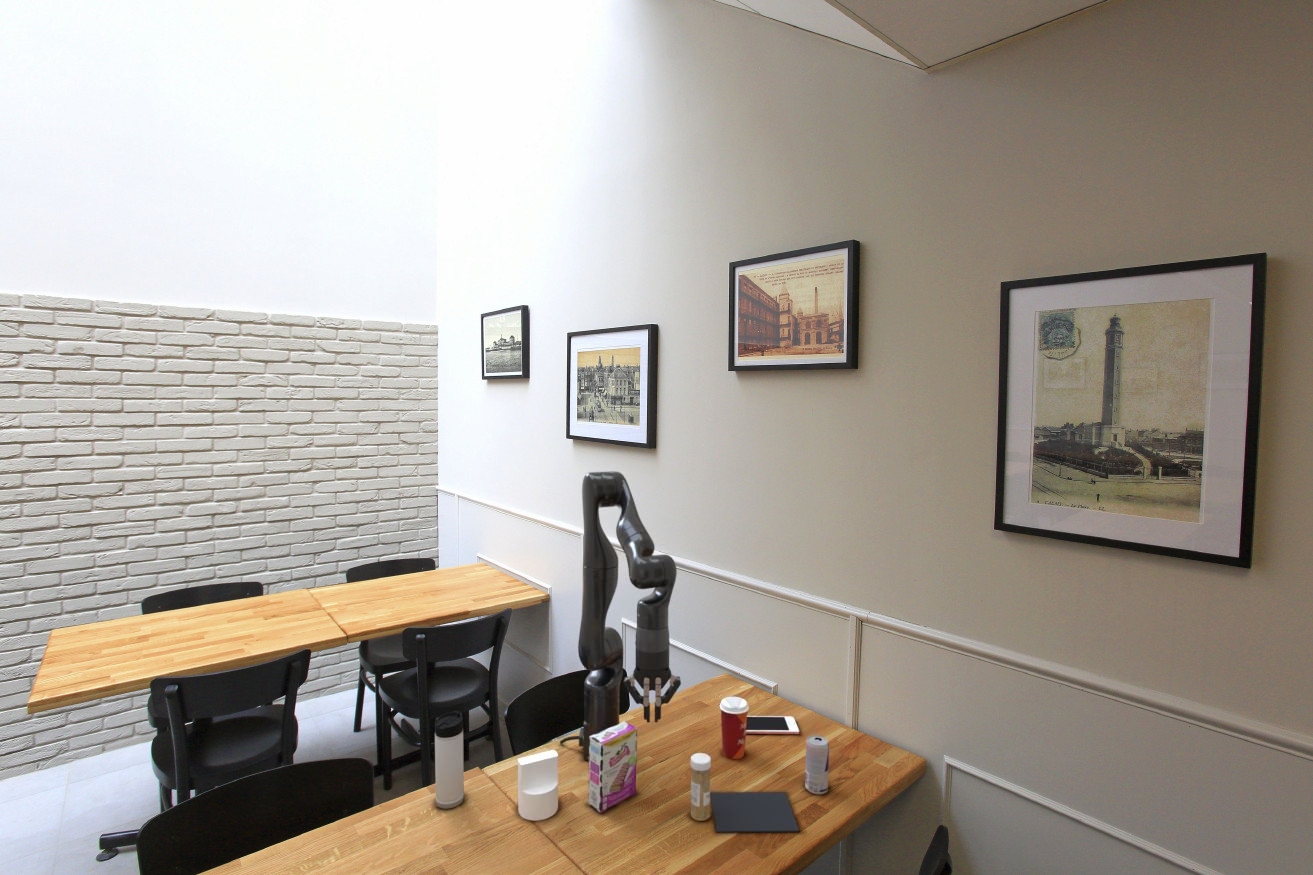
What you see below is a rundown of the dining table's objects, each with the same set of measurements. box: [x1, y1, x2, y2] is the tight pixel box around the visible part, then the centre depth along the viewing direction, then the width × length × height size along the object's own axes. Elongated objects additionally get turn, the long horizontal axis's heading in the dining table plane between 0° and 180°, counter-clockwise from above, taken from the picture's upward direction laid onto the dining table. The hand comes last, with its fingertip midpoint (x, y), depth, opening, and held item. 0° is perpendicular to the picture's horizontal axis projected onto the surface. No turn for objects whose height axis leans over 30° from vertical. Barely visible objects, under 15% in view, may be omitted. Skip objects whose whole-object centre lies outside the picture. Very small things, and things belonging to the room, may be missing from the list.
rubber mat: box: [710, 791, 800, 834], centre depth 148 cm, size 18×14×1 cm
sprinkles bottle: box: [690, 752, 712, 822], centre depth 147 cm, size 5×5×13 cm
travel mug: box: [434, 710, 465, 810], centre depth 152 cm, size 6×7×20 cm
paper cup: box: [719, 696, 750, 760], centre depth 173 cm, size 8×8×14 cm
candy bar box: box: [587, 720, 638, 814], centre depth 152 cm, size 11×5×16 cm, turn 134°
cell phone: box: [746, 715, 800, 735], centre depth 187 cm, size 9×18×1 cm, turn 89°
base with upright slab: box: [517, 749, 559, 822], centre depth 149 cm, size 9×9×12 cm
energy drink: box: [804, 734, 830, 795], centre depth 157 cm, size 5×5×12 cm
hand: (652, 720), depth 146 cm, fingers closed
